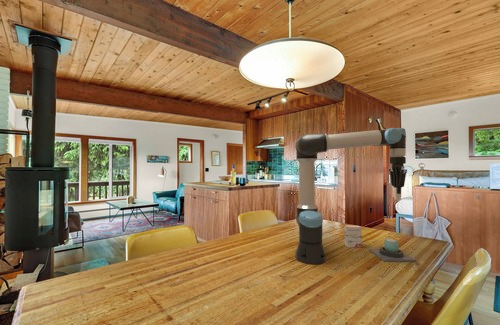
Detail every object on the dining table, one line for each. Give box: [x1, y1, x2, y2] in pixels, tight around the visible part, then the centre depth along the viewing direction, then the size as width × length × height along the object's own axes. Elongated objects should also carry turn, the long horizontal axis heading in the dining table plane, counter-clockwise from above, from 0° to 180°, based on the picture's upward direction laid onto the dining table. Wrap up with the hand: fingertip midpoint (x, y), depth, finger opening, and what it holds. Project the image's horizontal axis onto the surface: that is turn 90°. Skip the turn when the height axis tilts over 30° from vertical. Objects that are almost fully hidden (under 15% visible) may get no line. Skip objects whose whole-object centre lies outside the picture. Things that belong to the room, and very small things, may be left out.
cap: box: [384, 238, 400, 253], centre depth 130 cm, size 6×6×7 cm
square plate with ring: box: [368, 246, 417, 263], centre depth 130 cm, size 16×16×3 cm
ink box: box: [344, 224, 363, 249], centre depth 145 cm, size 9×5×12 cm, turn 84°
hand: (397, 199), depth 134 cm, fingers closed
